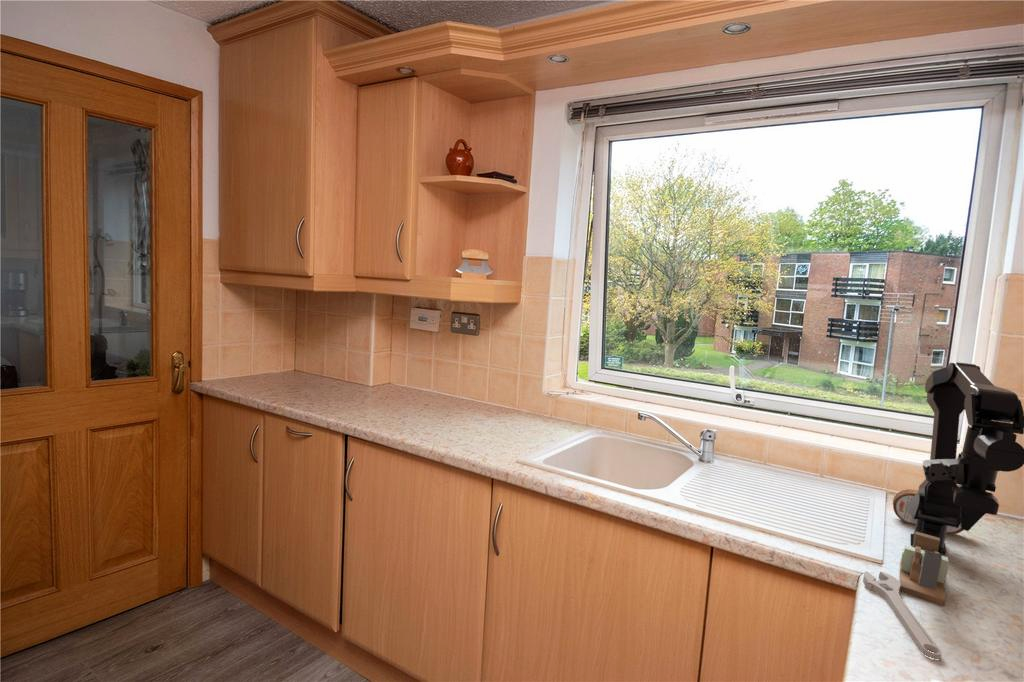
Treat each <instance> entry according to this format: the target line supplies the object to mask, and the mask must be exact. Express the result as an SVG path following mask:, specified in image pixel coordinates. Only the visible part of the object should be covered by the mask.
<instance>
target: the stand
mask: <svg viewBox="0 0 1024 682" xmlns="http://www.w3.org/2000/svg"><path fill="white" fill-rule="evenodd" d="M939 544H940V538H938V537H934V536H931V535H927V534H923V533H920V532H916V533H915V538H914V543H913V545H912V547H914V548H915V552H914V556H913V559H912V564H911V569H910V573H909V572H906V571H903V570H901V561H900V562H899V579H898V580H899V581H900V583H901V586H900V590H899V593H903V594H906V595H908V596H911V597H915V598H918V599H921V600H924V601H926V602H929V603H933V604H936V605H940V606H942V607H945V606H946V605H945V604H946V601H947V600H946V593H945V582H944V583H941V582H938V581H937V585H936V589H935V590H933V589H929V588H926V587H923V586H920V585H919V577H920V572H921V558H920V555H921V550H924V551H925V550H928V551H931V552H935V553H938V554H940V553H939V552H938V549H939Z"/></svg>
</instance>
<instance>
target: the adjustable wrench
mask: <svg viewBox="0 0 1024 682" xmlns="http://www.w3.org/2000/svg"><path fill="white" fill-rule="evenodd" d="M878 579H880V580H877V577H875V576H874V575H873V574H871V573H870V572H869V571H864V573H863V578H862V583H863V584H864V588H865V589H867V590H869V591H872V592H874V593H875V594H877V595H878V596H880V597H881V598H883V599H884V600H885V601H886V603H887V605H888V606H889V607H890V609H891V610H892V613H894V615H895V617H896V618H897V620H898V621H899V622H900V624H901V625H902V628H904V630H905V631H906V633H907V634H908V636H909V637H910V638H911V640H912V642H913V644H914V645H915V646H916V648H917V647H918V648H917V649H918V651H919V650H920V651H921V652H922V653H923V654H924V655H926V656H928V657H931V658H934V659H940V658H942V655H943V654H942V653H943V652H942V650H941V649H940V647H939V646H938V644H937V643H936V642H935V641H934V640H933V638H932V636H930V634H929V633H928V631H927V629H925V627H924V626H923V625H922V624H921V622H920V621H919V620H918V618H917V617H916V615H915V614H914V613H913V611H912V610H911V609H910V607H909V606H908V605H907V603H905V601H904V600H903V599H902V597H901V596H900V592H899V590H900V586H901V583H900V581H899V580H900V579H897V578H896V577H895V576H893V575H891V574H890V573H887V572H884V571H879V575H878ZM928 650H929V651H928ZM920 651H919V652H920ZM930 651H931V652H930ZM921 652H920V653H921ZM932 652H934V653H932ZM924 655H923V656H924ZM940 660H941V659H940Z"/></svg>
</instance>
